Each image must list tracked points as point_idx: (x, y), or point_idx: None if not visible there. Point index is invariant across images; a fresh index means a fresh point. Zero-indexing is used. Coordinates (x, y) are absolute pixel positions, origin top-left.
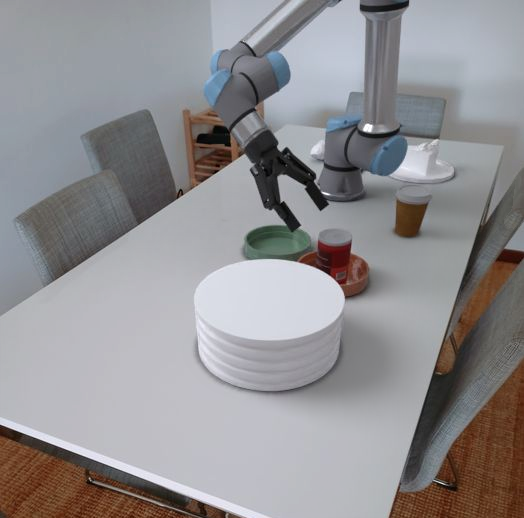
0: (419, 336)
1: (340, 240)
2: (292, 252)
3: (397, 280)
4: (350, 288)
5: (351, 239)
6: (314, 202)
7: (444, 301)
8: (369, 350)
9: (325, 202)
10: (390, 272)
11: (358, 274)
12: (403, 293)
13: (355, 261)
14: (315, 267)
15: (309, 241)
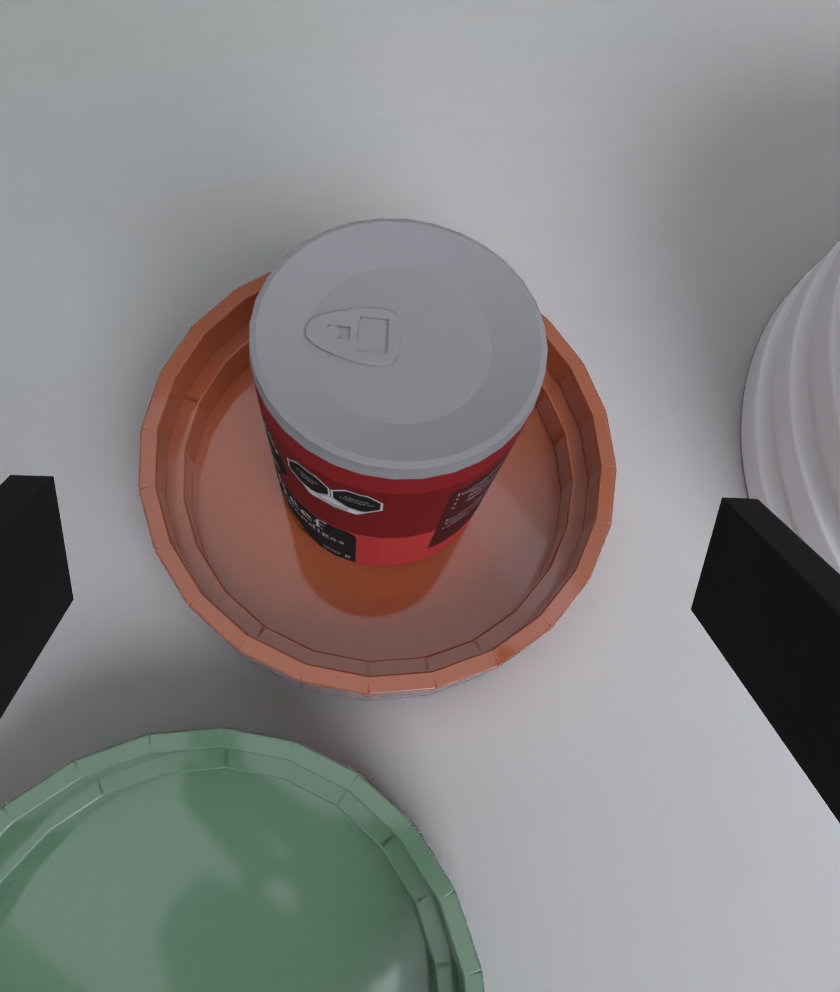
0: (590, 40)
1: (431, 289)
2: (347, 787)
3: (207, 196)
4: None
5: (377, 223)
6: (19, 678)
7: (290, 7)
8: (785, 154)
9: (33, 505)
10: (138, 244)
11: None
12: (317, 147)
13: (185, 391)
14: (311, 616)
15: (99, 764)
